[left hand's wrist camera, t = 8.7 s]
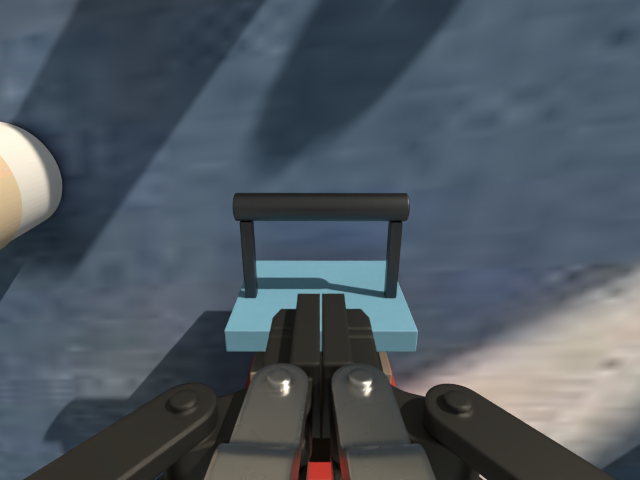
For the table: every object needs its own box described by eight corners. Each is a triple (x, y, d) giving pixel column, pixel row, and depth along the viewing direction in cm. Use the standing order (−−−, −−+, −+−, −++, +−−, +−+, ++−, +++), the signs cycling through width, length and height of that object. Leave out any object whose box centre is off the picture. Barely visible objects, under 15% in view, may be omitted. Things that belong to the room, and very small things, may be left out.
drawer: (246, 174, 23) (211, 212, 16) (395, 174, 23) (431, 213, 16) (265, 458, 32) (248, 571, 24) (375, 459, 32) (392, 571, 24)
